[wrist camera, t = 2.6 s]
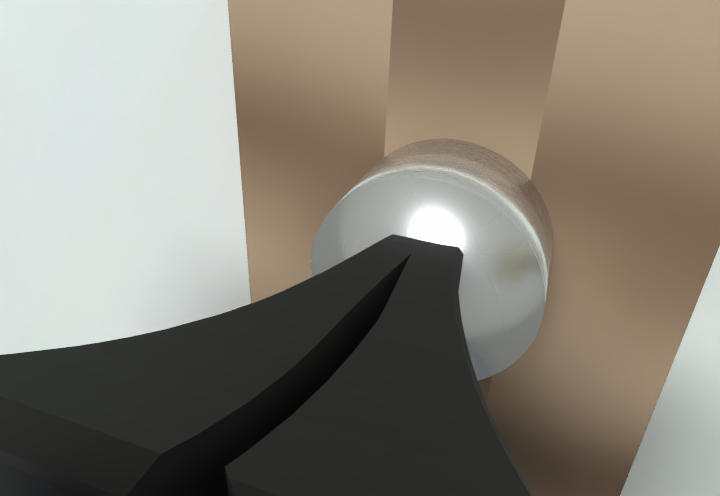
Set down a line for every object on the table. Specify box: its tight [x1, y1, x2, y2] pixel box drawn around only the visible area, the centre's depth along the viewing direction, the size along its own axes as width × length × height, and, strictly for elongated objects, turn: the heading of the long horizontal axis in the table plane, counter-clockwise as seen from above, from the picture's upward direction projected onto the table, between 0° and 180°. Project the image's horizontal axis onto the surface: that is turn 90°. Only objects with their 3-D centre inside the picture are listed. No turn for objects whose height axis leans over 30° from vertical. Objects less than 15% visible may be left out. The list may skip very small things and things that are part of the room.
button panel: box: [228, 0, 720, 496], centre depth 16 cm, size 26×10×2 cm, turn 178°
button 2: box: [311, 139, 553, 381], centre depth 12 cm, size 4×4×4 cm
